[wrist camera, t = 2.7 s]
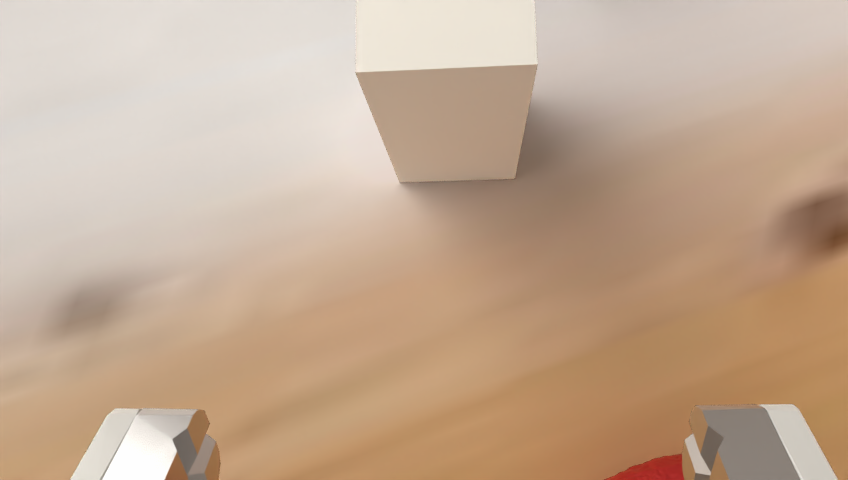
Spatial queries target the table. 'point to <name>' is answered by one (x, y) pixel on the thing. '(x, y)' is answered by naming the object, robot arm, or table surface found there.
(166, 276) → the table surface
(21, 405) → the table surface
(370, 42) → the ivory rectangular block
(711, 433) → the robot arm
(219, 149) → the table surface
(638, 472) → the pomegranate
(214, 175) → the table surface
